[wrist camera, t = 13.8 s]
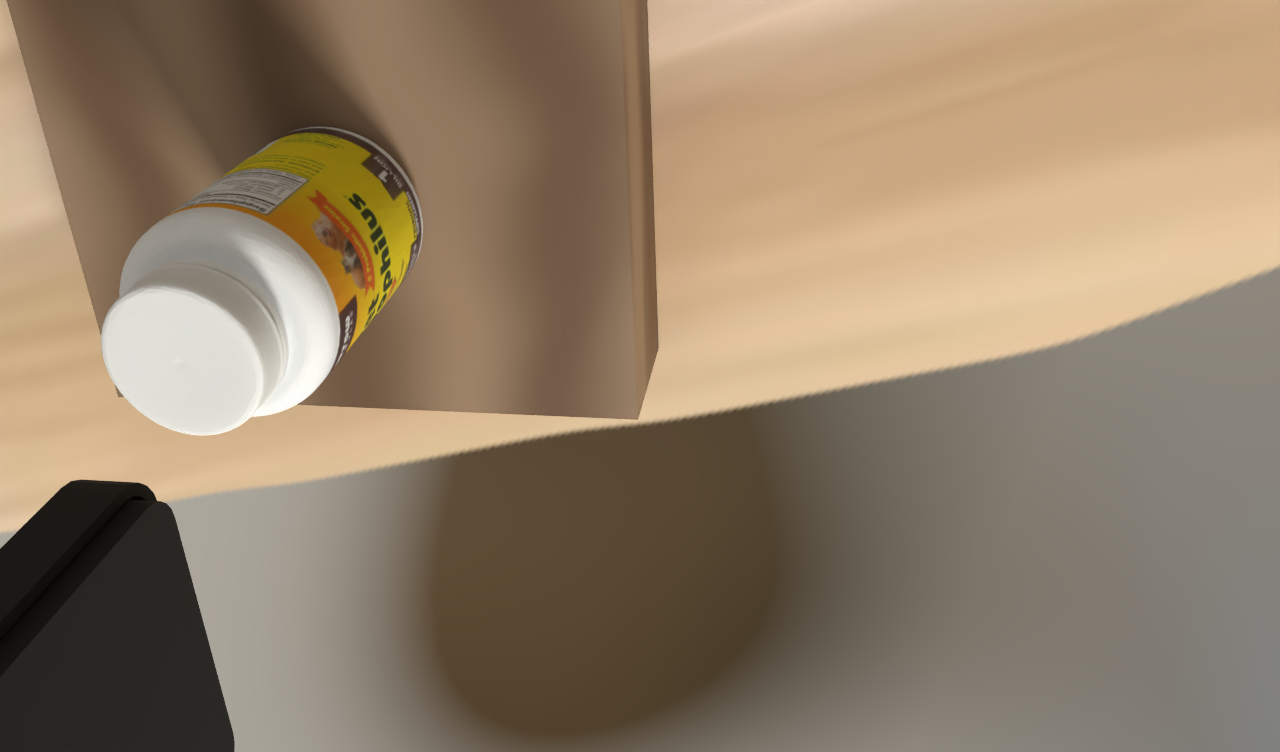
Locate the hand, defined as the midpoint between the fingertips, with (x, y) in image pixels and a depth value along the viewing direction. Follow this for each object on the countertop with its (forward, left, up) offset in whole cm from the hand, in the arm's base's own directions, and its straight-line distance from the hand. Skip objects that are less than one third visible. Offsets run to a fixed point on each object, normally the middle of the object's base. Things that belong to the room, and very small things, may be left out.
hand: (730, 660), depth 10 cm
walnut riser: (+14, +6, -30) cm, 34 cm away
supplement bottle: (+14, +6, -26) cm, 30 cm away
